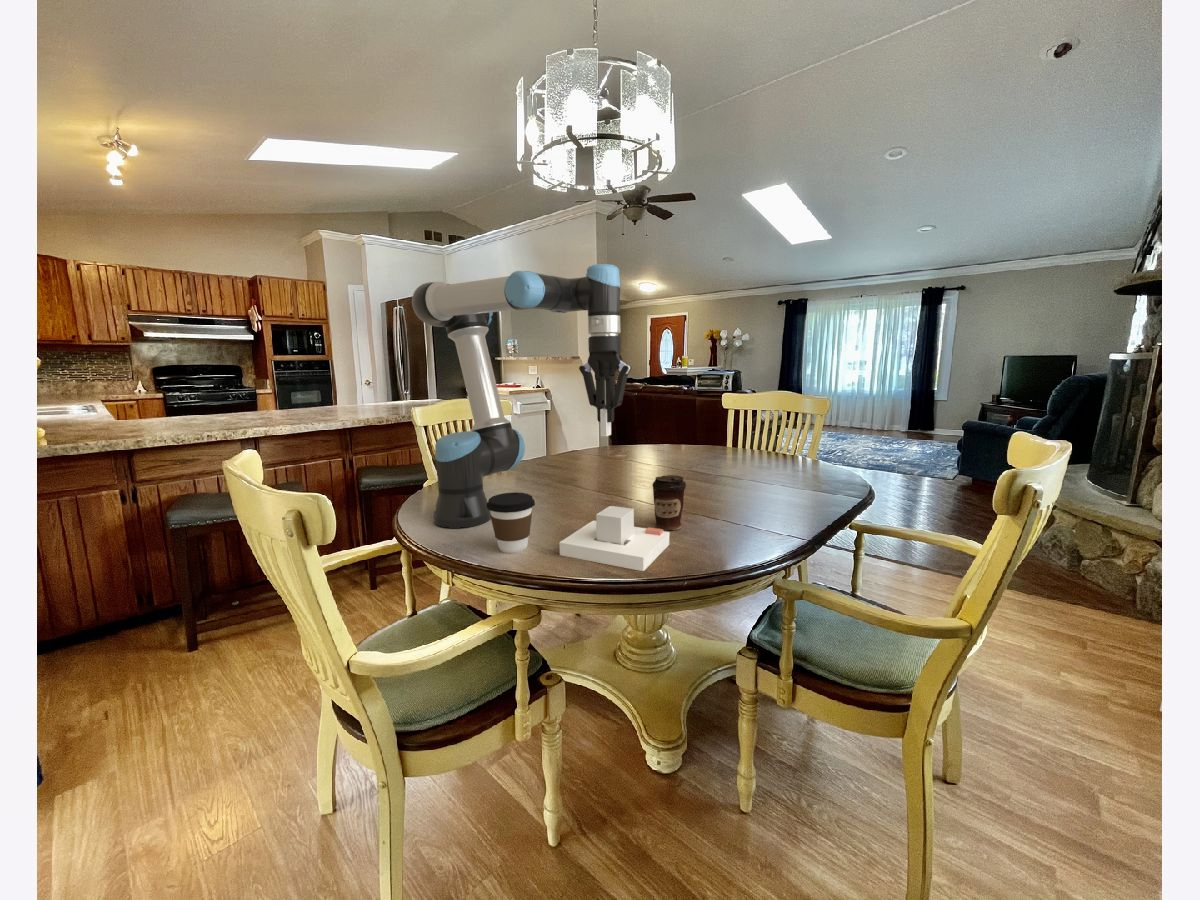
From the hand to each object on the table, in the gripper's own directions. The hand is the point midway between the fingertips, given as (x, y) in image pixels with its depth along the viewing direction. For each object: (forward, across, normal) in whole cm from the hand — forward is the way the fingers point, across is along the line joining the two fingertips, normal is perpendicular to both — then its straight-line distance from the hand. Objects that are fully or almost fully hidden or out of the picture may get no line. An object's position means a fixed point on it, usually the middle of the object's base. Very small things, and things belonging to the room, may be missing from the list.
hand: (606, 435), depth 121 cm
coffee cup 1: (+25, -15, -19) cm, 35 cm away
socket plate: (+24, +7, -10) cm, 27 cm away
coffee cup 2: (+25, +13, +9) cm, 29 cm away
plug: (+24, +7, -10) cm, 27 cm away
